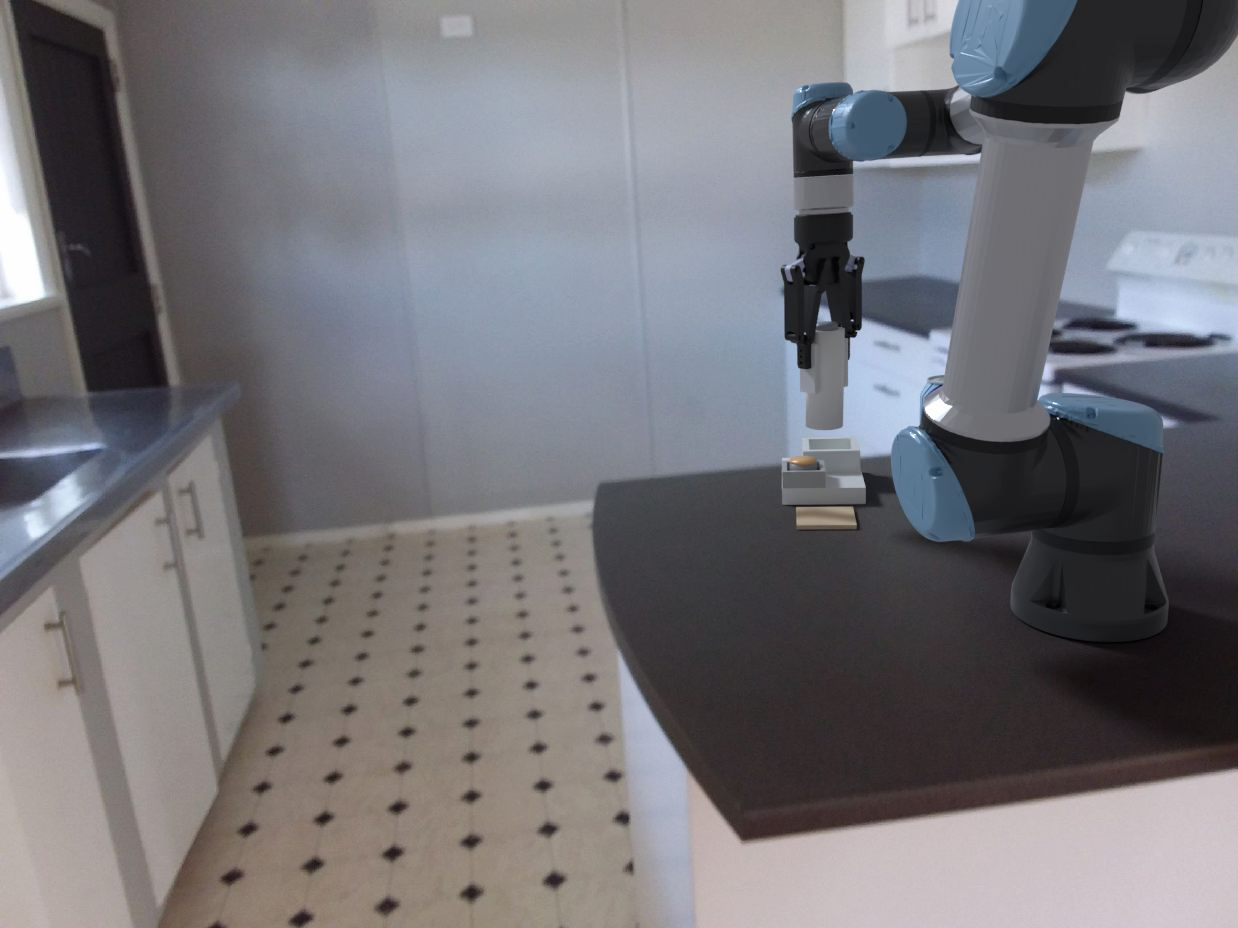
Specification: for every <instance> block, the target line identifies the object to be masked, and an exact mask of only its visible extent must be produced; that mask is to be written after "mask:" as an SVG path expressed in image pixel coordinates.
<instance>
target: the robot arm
mask: <svg viewBox="0 0 1238 928" xmlns="http://www.w3.org/2000/svg"><path fill="white" fill-rule="evenodd" d="M1237 37H1238V0H957V5H956V6H955V11H954V15H953V19H952V23H951V28H950V35H949V56H950V58H951V59H953V62H952V64H951V67H950V69H951V72H952V74H953V78H954V80H955V82H956V83H957V85H955V86H954V87H951V88H943V89H942V88H941V89H928V90H926V89H924V90H923V89H922V90H919V89H918V90H903V91H901V90H900V91H885V90H879V89H872V90H862V89H861V90H857V91H855V92H854V91H853V90H854V89H853V87H852V86H851V85H850V83H849V82H843V81H838V82H837V81H835V82H834V81H833V82H832V81H831V82H821V83H818V82H817V83H811V84H805V85H801V86H799V87H797V88H796V89H795V91H794V92H793V95H792V111H791V112H792V113H791V117H790V119H791V123H792V127H791V128H792V160H793V162H792V163H793V164H792V165H793V167H792V168H793V169H792V170H793V208H794V209H793V210H795V211H798V214H795V217H793V241H794V242H795V244H797V246H798V251H797V255H796V259H795V260H794V261H793V262H792V263H790V264H782V265H781V267H780V273H781V277H782V280H783V281H782V282H783V303H784V304H783V305H784V306H783V308H784V309H783V311H784V312H783V314H784V315H783V316H784V317H783V322H784V323H783V324H784V327H783V328H784V334H783V335H784V340H785V341H789V342H790V343H792V344H795V346H796V354H797V355H796V357H797V358H796V361H797V362H796V363H797V368H798V369H799V392H802V393H805V394H806V393H812V394H817V393H819V344H813V343H814V338H815V332H816V326H817V322H818V320H819V312H820V306H821V302H822V295H823V294H824V293H825V294H826V301H827V306H828V310H829V316H830V321H832V322H837V323H838V327H842V328H845V347H844V388H846V387H848V386H849V361H850V359H851V358H850V357H851V338H852V339H853V338H856V337H857V336H858V332H859V331H861V330H862V328H863V284H862V283H863V275H862V274H863V271H864V268H865V267H864V266H865V262H866V260H865V257H864V256H861V255H860V256H855V255H853V254H851V252H850V249H849V246H848V242H851V241H852V240H853V238H854V214H853V212H851V211H850V209H849V208H852V207H853V206H854V205H855V204H854V202H855V201H854V200H855V199H854V162H860V163H862V162H865V161H866V162H867V161H870V162H873V161H878V160H879V161H880V160H892V159H905V158H906V159H907V158H909V159H910V158H921V157H933V156H935V157H936V156H937V157H938V156H939V157H940V156H956V155H959V156H960V155H965V156H975V155H980V157H979V162H978V163H979V165H978V169H977V176H976V182H975V188H974V194H973V199H972V200H973V201H972V206H971V212H970V213H971V214H970V219H969V224H968V230H967V237H966V242H965V247H964V248H965V249H964V256H963V261H962V267H961V272H960V273H961V274H960V279H959V285H958V291H957V296H956V297H957V298H956V303H955V308H954V317H953V320H952V327H951V332H950V333H951V334H950V341H949V346H948V352H947V356H946V357H947V358H946V364H945V371H944V374H943V375H944V381H943V386H941V387H940V388H938V389H936V390H935V391H933V392H931V393H930V394H929V395H928V396H927V397H926V398H925V400H924V403H923V409H922V416H921V422H920V421H919V425H918V426H914V425H908V426H907V427H906V428H904V429H901V430H900V431H899V432H898V433H897V434H896V435H895V437H894V439H893V441H892V444H891V449H890V451H891V453H890V467H891V468H890V469H891V476H892V481H893V485H894V489H895V493H896V496H897V498H898V502H899V504H900V506H901V508H902V510H903V512H904V514H905V516H906V518H907V520H908V521H909V523H910V524H911V526H913V528H914V529H915V530H916V532H918V533H919V534H920V535H921V536H923V537H924V538H926V539H928V540H931V541H932V542H933V541H934V542H940V543H941V542H944V543H945V542H953V541H954V542H955V541H962V542H966V543H967V542H970V541H972V540H974V539H980V538H981V539H982V538H987V537H994V536H995V537H996V536H1002V535H1003V536H1004V535H1010V534H1017V533H1024V532H1031V533H1030V540H1029V543H1028V545H1027V548H1026V550H1025V552H1024V555H1023V557H1022V560H1021V561H1020V564H1019V566H1018V569H1017V571H1016V574H1015V575H1014V578H1013V581H1012V583H1011V588H1010V604H1009V605H1010V609H1011V612H1012V613H1013V614H1014V615H1015V616H1016V617H1017V618H1018V620H1021V621H1022V622H1024V623H1026V625H1029V626H1031V627H1032V628H1035V629H1038V630H1040V631H1042V632H1045V633H1048V634H1052V635H1055V636H1060V637H1064V638H1067V639H1071V640H1072V639H1074V640H1078V641H1079V640H1080V641H1087V642H1098V643H1099V642H1100V643H1101V642H1102V643H1121V642H1124V643H1125V642H1133V641H1139V640H1144V639H1147V638H1150V637H1153V636H1155V635H1157V634H1159V633H1161V632H1162V631H1163V630H1164V629H1165V628H1166V627H1167V624H1168V618H1169V606H1170V605H1169V603H1170V602H1169V597H1168V594H1167V590H1166V587H1165V586H1166V585H1165V584H1164V580H1163V576H1162V573H1161V570H1160V566H1159V563H1158V559H1157V555H1156V551H1155V541H1156V530H1157V529H1156V528H1157V519H1158V517H1157V516H1158V504H1159V496H1160V495H1159V494H1160V487H1161V486H1160V485H1161V477H1162V475H1161V474H1162V466H1163V465H1162V464H1163V457H1164V454H1165V450H1166V449H1165V448H1164V420H1163V418H1162V416H1161V415H1160V413H1159V412H1158V411H1157V410H1156V409H1154V408H1153V407H1150V406H1148V405H1146V404H1143V403H1139V402H1136V401H1131V400H1127V399H1122V398H1115V397H1111V396H1103V395H1096V394H1095V395H1094V394H1086V393H1085V394H1084V393H1074V392H1073V393H1072V392H1071V393H1070V392H1051V393H1046V394H1042V395H1041V396H1040V397H1039V394H1040V389H1041V384H1042V380H1043V377H1044V371H1045V367H1046V361H1047V357H1048V353H1049V348H1050V343H1051V341H1052V340H1051V339H1052V335H1053V329H1054V325H1055V321H1056V316H1057V311H1058V307H1059V303H1060V302H1059V301H1060V297H1061V293H1062V288H1063V284H1064V279H1065V274H1066V271H1067V265H1068V260H1069V256H1070V252H1071V247H1072V241H1073V238H1074V233H1075V228H1076V224H1077V220H1078V214H1079V210H1080V206H1081V200H1082V196H1083V191H1084V187H1085V184H1086V183H1085V182H1086V179H1087V173H1088V168H1089V165H1090V160H1091V156H1092V155H1091V154H1092V150H1093V145H1094V142H1095V140H1097V138H1098V137H1099V136H1100V135H1102V133H1105V131H1106V130H1107V131H1108V129H1110V128H1111V127H1112V126H1114V125H1115V124H1116V123H1117V122H1119V121H1120V120H1119V119H1120V116H1121V112H1122V108H1123V104H1124V100H1125V94H1126V93H1127V94H1131V95H1145V94H1150V93H1153V92H1157V91H1159V90H1161V89H1164V88H1167V87H1169V86H1172V85H1175V84H1179V83H1182V82H1184V81H1187V80H1191V79H1192V78H1194V77H1196V76H1198V75H1200V74H1202V73H1203V72H1205V71H1206V70H1208V69H1210V68H1211V66H1213V65H1215V64H1216V63H1217V62H1218V61H1219V60H1220V59H1221V58H1222V57H1223V56H1224V55H1225V53H1227V52H1228V50H1229V49H1230V48H1231V47H1232V45H1233V43H1234V42H1235V41H1236V39H1237Z"/></svg>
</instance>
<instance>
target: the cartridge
mask: <svg viewBox="0 0 1238 928" xmlns="http://www.w3.org/2000/svg"><path fill="white" fill-rule="evenodd" d="M813 344H819V393H817V394H812V393H806V392H805V427H806V428H808V429H810V430H816V431H833V430H839V429H842V428H843V426H844V398H845V397H844V396H845V395H844V394H845V392H844V389H845V387H844V347H845V328H842V327H838V323H837V322H832V321H831V320H830V321H829V320H828V321H825V320H824V321H822V320H821V321H817V326H816V332H815V338H814V343H813Z"/></svg>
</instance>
